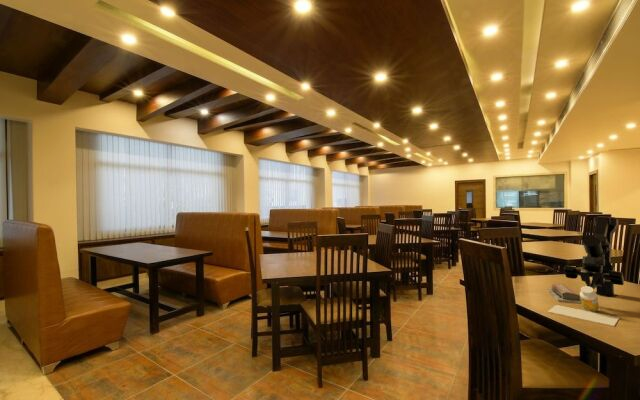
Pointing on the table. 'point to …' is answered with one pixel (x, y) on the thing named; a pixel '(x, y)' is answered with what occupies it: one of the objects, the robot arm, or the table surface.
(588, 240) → the robot arm
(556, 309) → the rubber mat
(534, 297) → the table surface
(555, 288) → the packaged product
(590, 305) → the supplement bottle
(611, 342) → the table surface
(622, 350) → the table surface
